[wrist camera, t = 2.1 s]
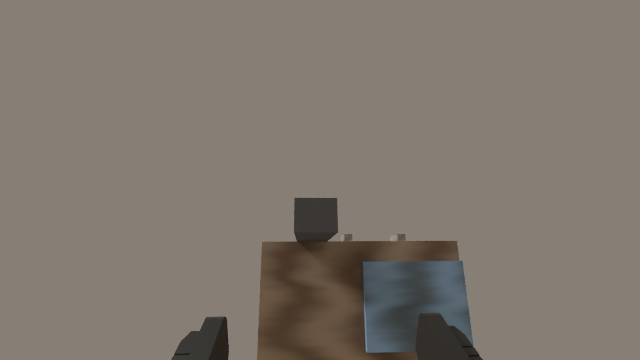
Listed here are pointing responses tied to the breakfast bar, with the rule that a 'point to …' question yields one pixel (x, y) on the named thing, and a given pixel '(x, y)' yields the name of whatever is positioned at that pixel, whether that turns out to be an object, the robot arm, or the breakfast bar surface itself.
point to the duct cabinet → (356, 297)
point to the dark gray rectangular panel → (315, 219)
